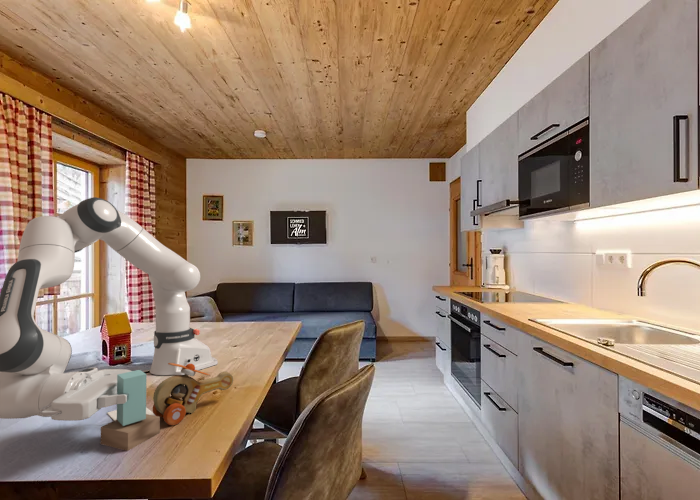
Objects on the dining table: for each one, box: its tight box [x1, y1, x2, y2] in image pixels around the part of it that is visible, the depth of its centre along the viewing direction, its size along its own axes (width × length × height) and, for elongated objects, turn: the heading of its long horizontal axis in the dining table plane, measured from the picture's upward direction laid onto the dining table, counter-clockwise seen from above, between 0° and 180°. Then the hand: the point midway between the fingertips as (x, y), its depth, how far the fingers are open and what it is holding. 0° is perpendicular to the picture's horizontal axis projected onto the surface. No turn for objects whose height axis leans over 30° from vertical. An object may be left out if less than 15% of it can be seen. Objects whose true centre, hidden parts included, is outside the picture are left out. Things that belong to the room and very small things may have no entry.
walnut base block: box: [100, 414, 161, 452], centre depth 79 cm, size 8×8×4 cm
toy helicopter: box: [152, 363, 234, 426], centre depth 93 cm, size 8×21×14 cm, turn 140°
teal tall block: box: [116, 369, 147, 426], centre depth 79 cm, size 4×4×10 cm
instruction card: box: [106, 406, 156, 421], centre depth 91 cm, size 8×11×1 cm
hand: (136, 390), depth 80 cm, fingers open, 7 cm apart
